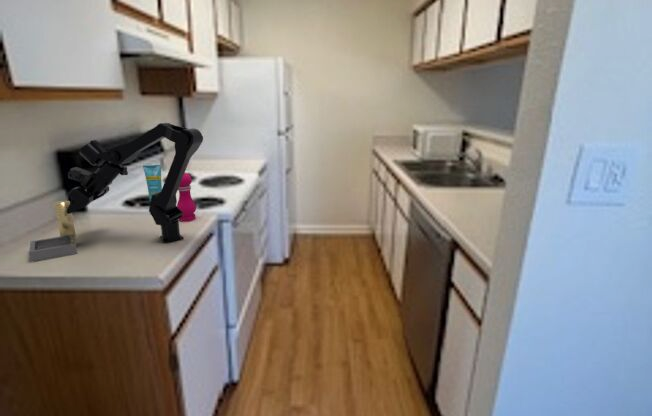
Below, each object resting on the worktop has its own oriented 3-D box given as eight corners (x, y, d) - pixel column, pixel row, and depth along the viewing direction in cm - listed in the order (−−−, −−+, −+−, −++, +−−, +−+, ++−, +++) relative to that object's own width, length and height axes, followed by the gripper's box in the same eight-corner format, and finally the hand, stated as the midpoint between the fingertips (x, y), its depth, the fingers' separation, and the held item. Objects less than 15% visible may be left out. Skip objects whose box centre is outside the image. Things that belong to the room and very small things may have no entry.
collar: (77, 253, 118) (75, 244, 117) (31, 262, 112) (29, 252, 111) (75, 242, 127) (73, 234, 126) (32, 250, 121) (30, 241, 120)
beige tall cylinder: (76, 239, 130) (69, 202, 127) (61, 242, 128) (53, 204, 124) (76, 236, 134) (69, 200, 130) (60, 238, 131) (53, 201, 128)
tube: (147, 210, 166) (141, 166, 161) (149, 207, 171) (143, 164, 165) (165, 209, 168) (160, 165, 163) (167, 206, 172) (162, 163, 167)
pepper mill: (184, 223, 148) (179, 171, 142) (174, 219, 152) (168, 169, 147) (200, 218, 153) (196, 169, 148) (190, 215, 157) (185, 167, 152)
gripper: (94, 155, 134) (65, 187, 135) (69, 163, 116) (36, 200, 117) (121, 176, 137) (93, 207, 138) (102, 187, 119) (69, 223, 121)
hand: (74, 209), depth 128 cm, fingers open, 9 cm apart
